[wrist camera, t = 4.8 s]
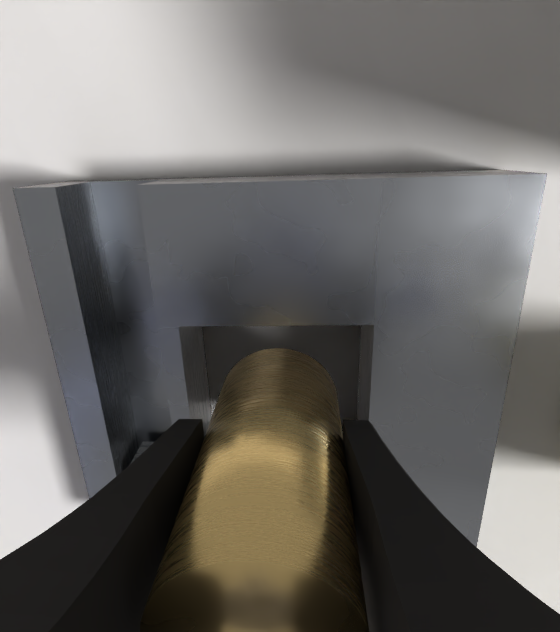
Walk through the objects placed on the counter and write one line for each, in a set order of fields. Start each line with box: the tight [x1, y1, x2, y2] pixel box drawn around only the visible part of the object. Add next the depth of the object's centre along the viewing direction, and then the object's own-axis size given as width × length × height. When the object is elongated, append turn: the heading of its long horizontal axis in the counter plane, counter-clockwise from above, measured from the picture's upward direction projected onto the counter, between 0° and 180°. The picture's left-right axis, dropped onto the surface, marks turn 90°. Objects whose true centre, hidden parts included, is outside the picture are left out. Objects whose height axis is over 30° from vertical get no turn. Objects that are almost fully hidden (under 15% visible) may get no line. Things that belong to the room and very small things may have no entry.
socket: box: [13, 170, 547, 547], centre depth 14 cm, size 13×13×2 cm
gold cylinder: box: [140, 348, 369, 632], centre depth 10 cm, size 4×4×7 cm
